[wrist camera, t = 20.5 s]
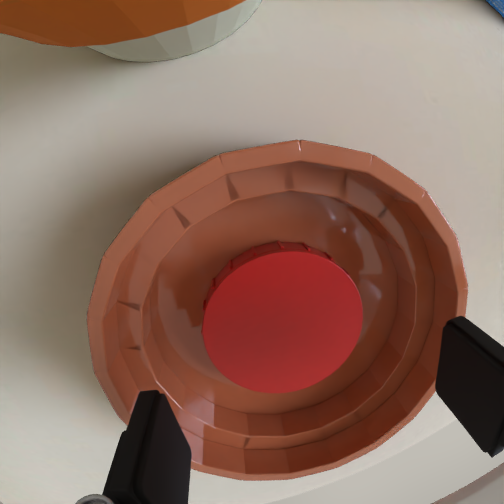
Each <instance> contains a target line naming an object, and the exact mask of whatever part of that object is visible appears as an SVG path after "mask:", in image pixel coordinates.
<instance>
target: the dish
mask: <svg viewBox="0 0 504 504" xmlns="http://www.w3.org/2000/svg"><path fill="white" fill-rule="evenodd" d="M277 240H280V242H292V243H299V244H302V242H304V243H306V244H307V245H308V246H310V247H313V248H315V249H318V250H319V251H321V252H323V253H324V252H327V253H328V254H329V255H330V256H331V257H332V258H333V259H334V260H333V261H335V262H336V263H337V264H338V265H339V266H340V267H343V268H344V269H345V270H346V271H347V272H348V273H349V274H350V275H351V276H350V278H351V279H352V281H353V282H354V284H355V285H356V288H357V290H358V292H359V295H360V298H361V301H362V308H363V322H362V329H361V332H360V336H359V338H358V341H357V343H356V346H355V347H354V349H353V351H352V353H351V354H350V355H349V357H348V358H347V359H346V361H345V362H344V363H343V364H342V365H341V366H340V367H339V368H338V369H337V370H336V371H335V372H334V373H332V374H331V375H330V376H328V377H327V378H325V379H324V380H322V381H320V382H318V383H317V384H315V385H312V386H310V387H308V388H305V389H301V390H298V391H293V392H288V393H262V392H257V391H253V390H249V389H246V388H244V387H241V386H239V385H237V384H235V383H234V382H232V381H231V380H229V379H228V378H226V377H225V376H224V375H223V374H222V373H221V372H220V371H219V370H218V369H217V368H216V367H215V365H214V364H213V363H212V361H211V359H210V358H209V356H208V353H207V351H206V349H205V345H204V341H203V335H201V331H202V322H203V315H204V312H202V308H203V301H204V300H206V297H207V294H208V292H209V289H210V287H211V285H212V279H213V278H216V277H217V275H218V274H219V273H220V271H221V270H222V269H223V268H224V267H225V266H226V265H227V264H228V263H229V260H230V259H231V260H233V259H234V258H236V257H237V256H239V255H240V254H242V253H244V252H246V251H248V250H250V249H252V248H251V247H252V246H254V248H255V247H258V246H261V245H264V244H269V243H275V242H277ZM467 295H468V283H467V278H466V273H465V268H464V264H463V259H462V255H461V250H460V246H459V242H458V238H457V236H456V234H455V232H454V231H453V229H452V228H451V226H450V225H449V223H448V221H447V220H446V218H445V217H444V215H443V214H442V212H441V211H440V209H439V208H438V206H437V205H436V203H435V202H434V200H433V199H432V198H431V196H430V195H429V193H428V192H427V191H426V190H425V189H424V188H423V187H422V186H420V185H419V184H417V183H416V182H414V181H413V180H412V179H410V178H409V177H407V176H406V175H404V174H403V173H401V172H400V171H398V170H397V169H395V168H394V167H392V166H391V165H389V164H388V163H386V162H385V161H383V160H381V159H380V158H378V157H377V156H375V155H372V154H370V153H366V152H362V151H357V150H353V149H348V148H343V147H338V146H333V145H328V144H323V143H317V142H312V141H306V140H292V141H285V142H279V143H273V144H267V145H262V146H256V147H251V148H245V149H240V150H235V151H230V152H225V153H221V154H219V155H215V156H214V157H212V158H210V159H208V160H207V161H205V162H203V163H201V164H200V165H198V166H196V167H195V168H193V169H191V170H190V171H188V172H186V173H184V174H183V175H181V176H180V177H178V178H176V179H175V180H173V181H171V182H170V183H168V184H166V185H165V186H163V187H162V188H160V189H158V190H157V191H155V192H154V193H152V194H151V195H150V196H149V197H148V198H146V199H145V200H144V202H143V203H142V204H141V205H140V207H139V208H138V209H137V210H136V212H135V213H134V214H133V215H132V217H131V218H130V219H129V221H128V222H127V223H126V224H125V226H124V227H123V228H122V230H121V231H120V232H119V234H118V235H117V236H116V238H115V239H114V240H113V242H112V243H111V244H110V246H109V247H108V249H107V250H106V251H105V253H104V255H103V257H102V259H101V263H100V266H99V270H98V273H97V277H96V280H95V284H94V288H93V291H92V295H91V299H90V303H89V307H88V311H87V326H88V335H89V343H90V351H91V358H92V364H93V370H94V373H95V375H96V377H97V379H98V381H99V383H100V385H101V387H102V389H103V391H104V392H105V394H106V396H107V398H108V400H109V402H110V403H111V405H112V407H113V409H114V410H115V412H116V414H117V415H118V416H119V418H120V419H121V420H122V421H123V422H124V423H125V424H126V425H127V426H128V423H129V420H130V417H131V414H132V411H133V408H134V405H135V403H136V400H137V397H138V394H139V392H140V391H147V390H158V391H159V392H160V394H161V393H164V394H165V395H166V397H167V399H168V402H169V404H170V406H171V408H172V410H173V413H174V415H175V417H176V419H177V421H178V423H179V425H180V427H181V429H182V431H183V433H184V435H185V437H186V439H187V441H188V443H189V445H190V448H191V452H192V458H191V469H193V470H197V471H200V472H204V473H208V474H212V475H217V476H222V477H227V478H232V479H237V480H244V481H262V480H288V479H294V478H299V477H303V476H308V475H312V474H316V473H320V472H324V471H327V470H331V469H334V468H337V467H340V466H342V465H344V464H346V463H348V462H350V461H352V460H354V459H357V458H359V457H361V456H363V455H364V454H366V453H368V452H370V451H372V450H374V449H376V448H378V447H379V446H380V445H382V444H383V443H384V442H386V441H387V440H388V439H389V438H391V437H392V436H393V435H395V434H396V433H397V432H398V431H399V430H401V429H402V428H403V427H404V426H406V425H407V424H408V423H409V422H410V421H411V420H413V419H414V417H416V415H417V414H418V413H419V412H420V411H421V409H422V408H423V407H424V406H425V404H426V403H427V402H428V400H429V399H430V398H431V397H432V395H433V394H434V393H435V391H436V389H435V382H436V376H437V370H438V363H439V356H440V348H441V339H442V330H443V327H444V326H445V325H446V322H447V321H448V320H450V319H453V318H456V317H458V316H463V317H465V314H466V305H467Z"/></svg>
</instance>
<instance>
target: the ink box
mask: <svg viewBox="0 0 504 504" xmlns="http://www.w3.org/2000/svg"><path fill="white" fill-rule="evenodd" d="M486 1H487V2H488V3H489V4H490V5H491V6H492V7H493V8H494V9H495V10H496V11H498V12H499V13H500V14H501V15H502V16H503V17H504V0H486Z"/></svg>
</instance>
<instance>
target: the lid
mask: <svg viewBox="0 0 504 504" xmlns="http://www.w3.org/2000/svg"><path fill="white" fill-rule="evenodd" d="M251 248H252V249H250V250H248V251H246V252H244V253H242V254H240V255H239V256H237V257H236V258H234V259H233V260H231V259H230V260H229V263H228V264H227V265H226V266H225V267H224V268H223V269H222V270H221V271H220V273H219V274H218V275H217V277H216V278H213V279H212V285H211V287H210V289H209V292H208V294H207V297H206V300H204V301H203V308H202V312H204V315H203V322H202V331H201V335H203V341H204V345H205V349H206V351H207V353H208V356H209V358H210V359H211V361H212V363H213V364H214V365H215V367H216V368H217V369H218V370H219V371H220V372H221V373H222V374H223V375H224V376H225V377H226V378H228V379H229V380H231V381H232V382H234V383H235V384H237V385H239V386H241V387H244V388H246V389H249V390H253V391H257V392H262V393H288V392H293V391H298V390H301V389H305V388H308V387H310V386H312V385H315V384H317V383H318V382H320V381H322V380H324V379H325V378H327V377H328V376H330V375H331V374H332V373H334V372H335V371H336V370H337V369H338V368H339V367H340V366H341V365H342V364H343V363H344V362H345V361H346V359H347V358H348V357H349V355H350V354H351V353H352V351H353V349H354V347H355V346H356V343H357V341H358V338H359V336H360V332H361V329H362V322H363V308H362V301H361V298H360V295H359V292H358V290H357V288H356V285H355V284H354V282H353V281H352V279H351V278H350V276H351V275H350V274H349V273H348V272H347V271H346V270H345V269H344V268H343V267H340V266H339V265H338V264H337V263H336V262H335V261H333V260H334V259H333V258H332V257H331V256H330V255H329V254H328V253H327V252H324V253H323V252H321V251H319V250H318V249H315V248H313V247H310V246H308V245H307V244H306V243H304V242H302V244H299V243H292V242H280V240H277V242H275V243H269V244H264V245H261V246H258V247H255V248H254V246H252V247H251Z"/></svg>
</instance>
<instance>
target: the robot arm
mask: <svg viewBox="0 0 504 504" xmlns="http://www.w3.org/2000/svg"><path fill="white" fill-rule="evenodd" d="M435 389H436V392H437V394H438V395H439V397H440V398H441V399H442V400H443V402H444V403H445V404H446V405H447V407H448V408H449V409H450V410H451V411H452V413H453V414H454V415H455V416H456V418H457V419H458V420H459V421H460V423H461V424H462V425H463V426H464V428H465V429H466V430H467V431H468V433H469V434H470V435H471V437H472V438H473V439H474V441H475V442H476V443H477V444H478V446H479V447H480V448H481V450H482V451H483V452H488V454H489V455H490V456H491V457H493V456H495V455H497V454H498V453H500V452H501V451H502V450H503V449H504V347H503V346H502V345H500V344H499V343H498V342H497V341H495V340H494V339H493V338H491V337H490V336H489V335H488V334H486V333H485V332H484V331H482V330H481V329H480V328H478V327H477V326H476V325H474V324H473V323H472V322H470V321H469V320H468V319H466V318H465V317H463V316H458V317H456V318H453V319H450V320H448V321H447V322H446V325H445V326H444V327H443V330H442V339H441V348H440V356H439V363H438V370H437V376H436V382H435ZM191 458H192V452H191V448H190V445H189V443H188V441H187V439H186V437H185V435H184V433H183V431H182V429H181V427H180V425H179V423H178V421H177V419H176V417H175V415H174V413H173V410H172V408H171V406H170V404H169V402H168V399H167V397H166V395H165V394H164V393H161V394H160V392H159V391H158V390H147V391H140V392H139V394H138V397H137V400H136V403H135V405H134V408H133V411H132V414H131V417H130V420H129V423H128V427H127V430H126V431H124V432H122V434H121V437H120V440H119V443H118V446H117V449H116V452H115V455H114V458H113V461H112V465H111V468H110V471H109V474H108V477H107V481H106V484H105V487H104V491H103V494H102V495H99V494H92V495H88V496H85V497H83V498H81V499H80V500H78V501H77V502H76V504H188V494H189V481H190V469H191ZM432 504H504V463H502V464H501V465H499V466H498V467H496V468H495V469H493V470H492V471H490V472H489V473H487V474H485V475H484V476H482V477H480V478H479V479H477V480H475V481H474V482H472V483H470V484H468V485H467V486H465V487H463V488H461V489H459V490H458V491H456V492H454V493H452V494H450V495H448V496H446V497H444V498H442V499H440V500H438V501H436V502H434V503H432Z"/></svg>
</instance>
